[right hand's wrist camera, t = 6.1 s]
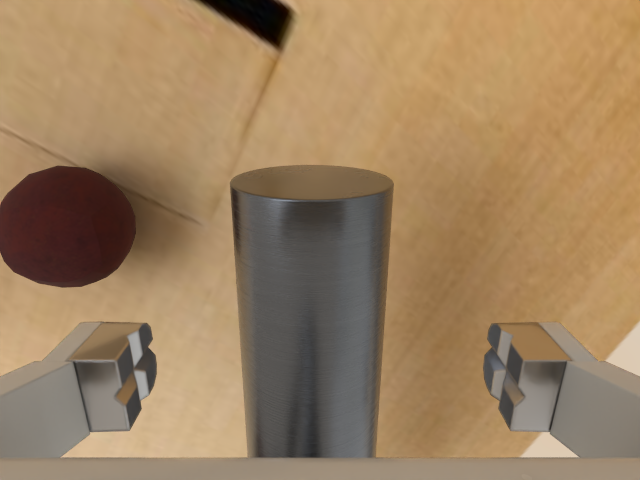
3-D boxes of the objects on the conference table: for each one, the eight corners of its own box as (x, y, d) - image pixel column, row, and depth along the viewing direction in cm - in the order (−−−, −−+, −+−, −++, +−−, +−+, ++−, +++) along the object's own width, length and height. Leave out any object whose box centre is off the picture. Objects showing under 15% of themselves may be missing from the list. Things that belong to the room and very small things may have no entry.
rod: (244, 164, 19) (212, 199, 13) (381, 165, 19) (408, 200, 14) (265, 576, 29) (253, 700, 23) (358, 576, 29) (368, 700, 23)
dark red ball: (158, 258, 31) (115, 306, 25) (51, 260, 31) (-21, 308, 25) (142, 156, 29) (89, 179, 22) (26, 158, 29) (-61, 181, 22)
